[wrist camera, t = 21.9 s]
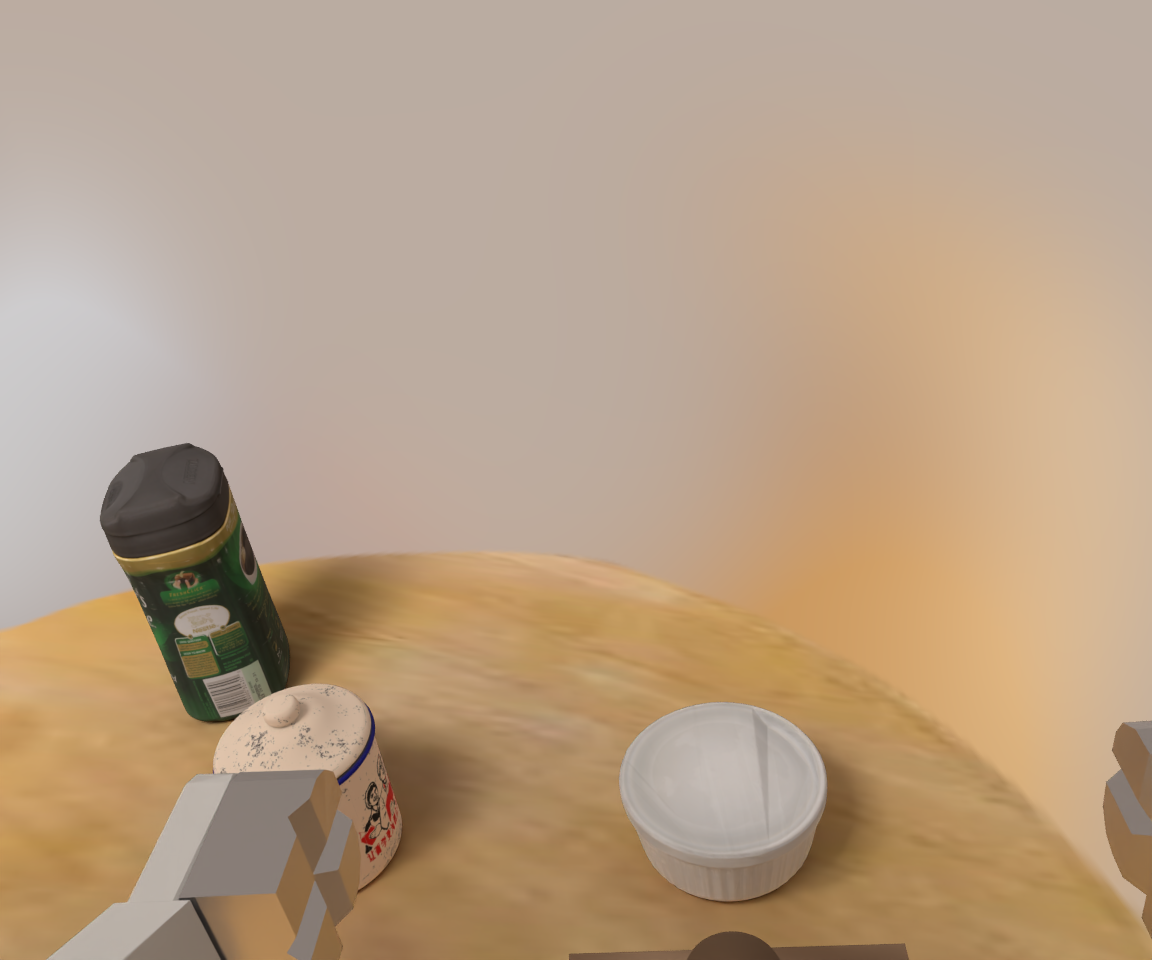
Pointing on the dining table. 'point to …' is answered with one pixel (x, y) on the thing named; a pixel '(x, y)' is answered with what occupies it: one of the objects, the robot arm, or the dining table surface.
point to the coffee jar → (196, 580)
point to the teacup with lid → (322, 758)
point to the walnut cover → (757, 951)
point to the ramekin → (724, 798)
